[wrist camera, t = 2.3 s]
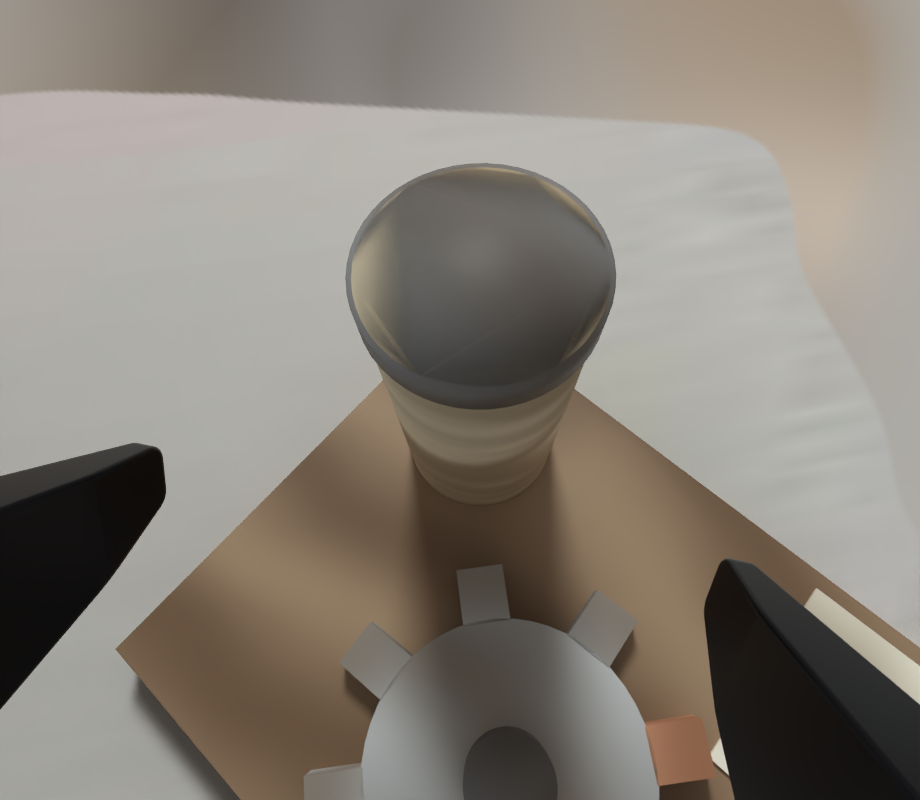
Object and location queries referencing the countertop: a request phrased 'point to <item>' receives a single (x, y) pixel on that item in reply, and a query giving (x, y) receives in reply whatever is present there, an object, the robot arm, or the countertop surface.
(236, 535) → the sprocket board
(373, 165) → the countertop surface
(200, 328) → the countertop surface
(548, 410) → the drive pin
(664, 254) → the countertop surface
